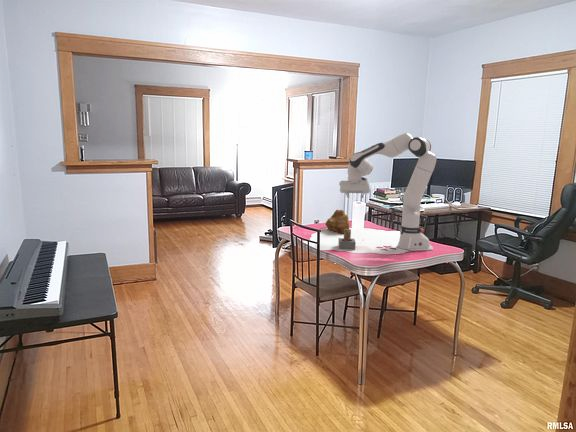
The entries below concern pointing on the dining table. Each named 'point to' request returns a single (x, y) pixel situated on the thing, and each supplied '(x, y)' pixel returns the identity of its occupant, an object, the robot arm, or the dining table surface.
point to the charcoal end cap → (346, 244)
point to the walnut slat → (347, 234)
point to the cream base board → (361, 248)
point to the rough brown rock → (338, 221)
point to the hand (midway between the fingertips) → (355, 197)
